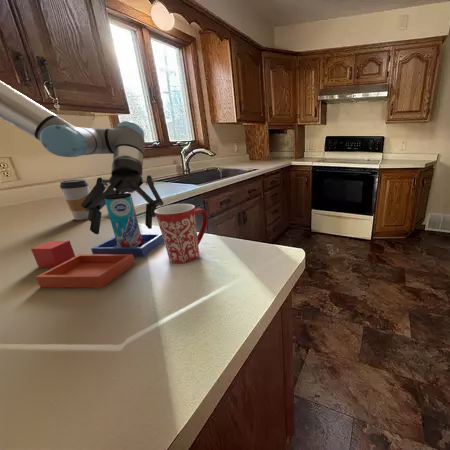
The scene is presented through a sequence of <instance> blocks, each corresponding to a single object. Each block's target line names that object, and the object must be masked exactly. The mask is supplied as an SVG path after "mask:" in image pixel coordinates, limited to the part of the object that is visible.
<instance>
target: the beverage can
mask: <svg viewBox="0 0 450 450" xmlns="http://www.w3.org/2000/svg"><path fill="white" fill-rule="evenodd" d="M104 199H105V203H106V205H105V207H106V210H107V213H108V217H109V220H110V224H111V227H112V230H113V234H114V237H115V238H116V241H117V245H118V247H140V246H141V245H142V244H143V241H142V237H141V234H142V233H141V229H140V225H139V221H138V217H137V212H136V209H135V205H134V201H133V197H132V194H131V193H129V192H128V193H119V194H112V195H107V196H105V197H104Z"/></svg>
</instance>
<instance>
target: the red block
mask: <svg viewBox="0 0 450 450" xmlns="http://www.w3.org/2000/svg"><path fill="white" fill-rule="evenodd" d="M30 250H31V252H32V255H33V257H34V260H35V262H36V265H37V267H38V268H54V267H56V266H58V265H60V264H62V263H64V262H66V261H68V260H70V259H71V258H73V257H75V256H76V255H75V252H74V249H73V246H72V244H71V241H70V240H50V241H47V242H44V243H41V244H39V245H37V246H35V247H32V248H30Z"/></svg>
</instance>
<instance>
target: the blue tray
mask: <svg viewBox="0 0 450 450" xmlns="http://www.w3.org/2000/svg"><path fill="white" fill-rule="evenodd" d="M141 237H142V241H143V244H142V245H141V246H140V247H118V245H117V241H116V238H115V236H113V237H111V238H108V239H107V240H105V241H103V242H101V243H99V244H97V245H94V246H93V247H91V248H90V250H91V254H133V258H145V257H146V256H147V255H149V254H150V253H151V252H153V251H155V250H156V249H157V248H159V247H160V246H161V245H163V244H164V240H163V236H162V233H141Z"/></svg>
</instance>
